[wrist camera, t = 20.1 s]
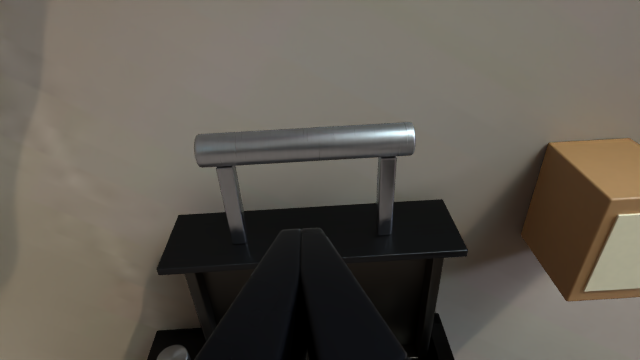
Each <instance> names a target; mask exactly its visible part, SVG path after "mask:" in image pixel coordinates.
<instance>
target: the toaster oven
mask: <svg viewBox="0 0 640 360" xmlns="http://www.w3.org/2000/svg"><path fill="white" fill-rule="evenodd" d="M205 343H206V339H205V336H204V333H203V330H202V328H193V329H176V330H160V331H157V332H156V335H155V338H154V341H153V344H152V347H151V350H150V353H149V355H148V358H147V360H194V359H195V358H196V356H197V355H198V353H199V352H200V350H201V349H202V347H203V346H204V344H205ZM427 360H454V357H453V354H452V351H451V348H450V345H449V342H448V340H447V337H446V334H445V331H444V328H443V325H442V322H441V319H440V317H439V314H438V313H434V319H433V325H432V331H431V337H430V343H429V349H428V354H427Z"/></svg>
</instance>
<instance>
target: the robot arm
mask: <svg viewBox="0 0 640 360" xmlns="http://www.w3.org/2000/svg"><path fill="white" fill-rule="evenodd" d="M307 350H308V357H309V360H411V358H410V357H407V353H406V351H405V350H404V348H403V347H402V345H401V344H400V343H399V341H398V340H397V338H396V337H395V335H394V334H393V332H392V331H391V329H390V328H389V326H388V325H387V324H386V322H385V321H384V319H383V318H382V316H381V315H380V313H379V312H378V310H377V309H376V307H375V306H374V304H373V303H372V302H371V300H370V299H369V297H368V296H367V294H366V293H365V291H364V290H363V288H362V287H361V285H360V284H359V283H358V281H357V280H356V278H355V277H354V275H353V274H352V272H351V271H350V269H349V268H348V266H347V265H346V263H345V262H344V261H343V259H342V258H341V256H340V255H339V253H338V252H337V250H336V249H335V247H334V246H333V244H332V243H331V241H330V240H329V239H328V237H327V236H326V234H325V233H324V231H323V230H322V229H321V228H304V229H302V230H301V229H285V230H282V231H280V233H279V234H278V236H277V237H276V239H275V240H274V242H273V243H272V245H271V246H270V248H269V249H268V251H267V252H266V254H265V255H264V257H263V258H262V260H261V261H260V262H259V264H258V265H257V267H256V268H255V270H254V271H253V273H252V274H251V276H250V277H249V279H248V280H247V282H246V283H245V285H244V286H243V288H242V289H241V291H240V292H239V294H238V295H237V297H236V298H235V300H234V301H233V303H232V304H231V306H230V307H229V309H228V310H227V312H226V313H225V315H224V316H223V318H222V319H221V321H220V322H219V324H218V325H217V327H216V328H215V330H214V331H213V332H212V334H211V335H210V337H209V338H208V340H207V341H206V343H205V344H204V346H203V347H202V349H201V350H200V352H199V353H198V355H197V356H196V358H195V359H194V360H306V358H307Z"/></svg>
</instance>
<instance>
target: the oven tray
mask: <svg viewBox="0 0 640 360" xmlns="http://www.w3.org/2000/svg"><path fill="white" fill-rule="evenodd" d="M415 142H416V139H415V130H414V127H413V124H412V123H411V122H402V123H384V124H367V125H349V126H332V127H315V128H297V129H280V130H263V131H245V132H228V133H210V134H198V135H197V136H196V138H195V142H194V152H195V158H196V161H197V164H198V166H199V167H217V168H216V171H217V175H218V180H219V184H220V189H221V194H222V198H223V203H224V208H225V212H222V213H205V214H188V215H178V218H177V220H176V223H175V225H174V228H173V230H172V233H171V235H170V238H169V240H168V242H167V245H166V247H165V250H164V252H163V255H162V257H161V260H160V262H159V265H158V267H157V272H158V275H170V274H185V277H186V280H187V283H188V286H189V289H190V292H191V296H192V299H193V302H194V305H195V308H196V311H197V314H198V317H199V321H200V324H201V327H202V330H203V333H204V336H205V339H206V341H207V340H208V338H209V337H210V335H211V334H212V332H213V331H214V330H215V328H216V327H217V325H218V324H219V322H220V321H221V319H222V318H223V316H224V315H225V313H226V312H227V310H228V309H229V307H230V306H231V304H232V303H233V301H234V300H235V298H236V297H237V295H238V294H239V292H240V291H241V289H242V288H243V286H244V285H245V283H246V282H247V280H248V279H249V277H250V276H251V274H252V273H253V271H254V270H255V268H256V267H257V265H258V264H259V262H260V261H261V260H262V258H263V257H264V255H265V254H266V252H267V251H268V249H269V248H270V246H271V245H272V243H273V242H274V240H275V239H276V237H277V236H278V234H279V233H280V231H282V230H285V229H301V230H302V229H304V228H321V229H322V230H323V231H324V233H325V234H326V236H327V237H328V239H329V240H330V241H331V243H332V244H333V246H334V247H335V249H336V250H337V252H338V253H339V255H340V256H341V258H342V259H343V261H344V262H345V263H346V265H347V266H348V268H349V269H350V271H351V272H352V274H353V275H354V277H355V278H356V280H357V281H358V283H359V284H360V285H361V287H362V288H363V290H364V291H365V293H366V294H367V296H368V297H369V299H370V300H371V302H372V303H373V304H374V306H375V307H376V309H377V310H378V312H379V313H380V315H381V316H382V318H383V319H384V321H385V322H386V324H387V325H388V326H389V328H390V329H391V331H392V332H393V334H394V335H395V337H396V338H397V340H398V341H399V343H400V344H401V345H402V347H403V348H404V350H405V351H406V353H407V357H410V358H411V360H427V354H428V349H429V343H430V337H431V331H432V325H433V319H434V313H435V307H436V301H437V296H438V290H439V284H440V278H441V272H442V266H443V260H444V258H448V257H464V256H467V253H468V249H467V247H466V245H465V243H464V241H463V239H462V237H461V235H460V233H459V231H458V229H457V227H456V225H455V223H454V221H453V219H452V217H451V215H450V213H449V211H448V209H447V207H446V205H445V203H444V201H443V200H442V199H440V200H423V201H407V202H394V190H395V176H396V162H397V158H396V156H407V155H412V154H413V153H414V150H415ZM373 157H378V176H377V201H376V203H373V204H356V205H339V206H323V207H306V208H289V209H272V210H256V211H244V210H243V204H242V199H241V193H240V188H239V183H238V177H237V172H236V165H253V164H270V163H288V162H305V161H322V160H339V159H356V158H373ZM306 360H309V357H308V350H307V358H306Z"/></svg>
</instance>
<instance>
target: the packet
mask: <svg viewBox="0 0 640 360" xmlns="http://www.w3.org/2000/svg"><path fill="white" fill-rule="evenodd" d="M521 236H522V238H523V239H524V241H525V242H526V244H527V245H528V246H529V248H530V249H531V251H532V252H533V254H534V255H535V257H536V258H537V259H538V261H539V262H540V264H541V265H542V267H543V268H544V270H545V271H546V272H547V274H548V275H549V277H550V278H551V280H552V281H553V283H554V284H555V285H556V287H557V288H558V290H559V291H560V293H561V294H562V296H563V297H564V299H565V300H566V301H582V300H598V299H614V298H631V297H640V145H639V144H637V143H636V142H634V141H633V140H631V139H630V138H623V139H606V140H588V141H571V142H554V143H548V146H547V149H546V153H545V156H544V159H543V163H542V166H541V169H540V173H539V176H538V179H537V183H536V186H535V189H534V193H533V196H532V199H531V203H530V206H529V209H528V213H527V216H526V219H525V223H524V226H523V229H522V232H521Z"/></svg>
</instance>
